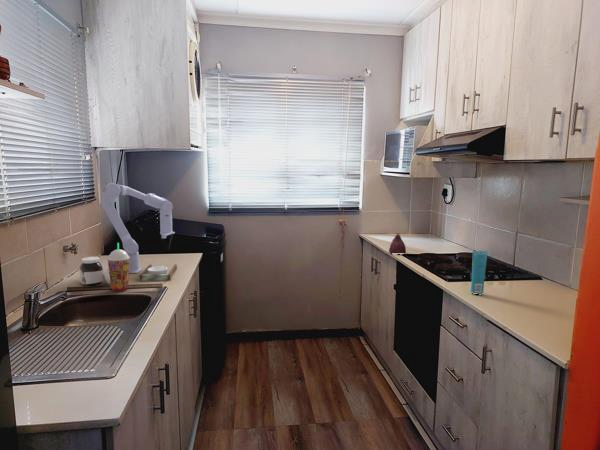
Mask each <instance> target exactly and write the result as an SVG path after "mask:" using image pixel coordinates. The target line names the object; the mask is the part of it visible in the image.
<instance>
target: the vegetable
mask: <svg viewBox="0 0 600 450" xmlns="http://www.w3.org/2000/svg"><path fill="white" fill-rule="evenodd" d="M406 249H407V248H406V244H405V242H404V241H403V239H402V238H401V235H400V234H399V233H396V235H395V236H394V237H393V239H392V241H391V244H390V247H389V250H388V253H389V252H390V253H407V250H406Z"/></svg>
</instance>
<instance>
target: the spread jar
mask: <svg viewBox="0 0 600 450" xmlns="http://www.w3.org/2000/svg"><path fill="white" fill-rule="evenodd" d="M79 279H80V283H81V285H82V286H83V287H85V286H93V287H98V286H100V285H101V284H103V282H104V279H105V281H106V283H107V284H108V285H109V284H110V285H111V283H110V274H109V270H107V268H103V265H102V263H101V262H100V257H99V256H88V257H83V258H81V264H80V265H79ZM97 285H98V286H97Z"/></svg>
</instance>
